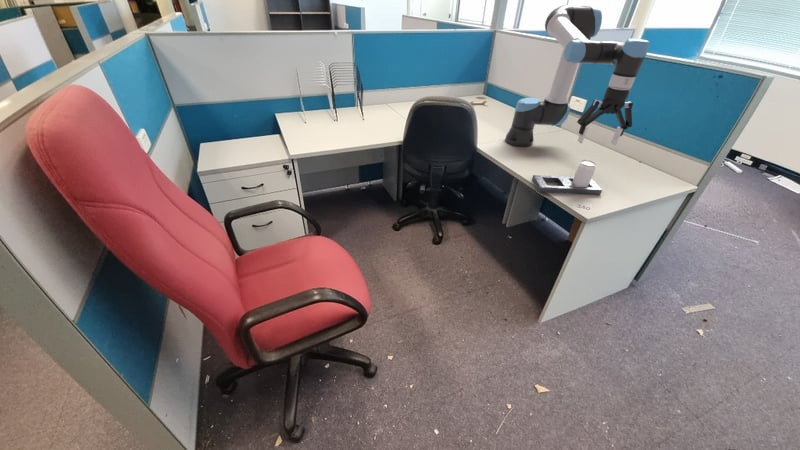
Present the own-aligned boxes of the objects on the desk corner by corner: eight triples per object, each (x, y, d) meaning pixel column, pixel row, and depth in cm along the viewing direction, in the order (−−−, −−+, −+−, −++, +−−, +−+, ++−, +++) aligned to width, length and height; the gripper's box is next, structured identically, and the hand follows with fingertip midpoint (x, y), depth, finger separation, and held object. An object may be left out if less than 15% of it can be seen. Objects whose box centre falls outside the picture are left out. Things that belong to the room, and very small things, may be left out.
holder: (531, 179, 150) (533, 175, 148) (588, 182, 149) (591, 177, 148) (539, 192, 141) (540, 187, 139) (600, 195, 141) (602, 189, 139)
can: (583, 193, 141) (594, 167, 134) (568, 187, 145) (578, 162, 138) (588, 187, 145) (599, 163, 138) (573, 182, 149) (583, 158, 142)
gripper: (589, 88, 118) (569, 145, 130) (659, 91, 117) (632, 147, 130) (580, 83, 124) (562, 137, 136) (647, 86, 123) (622, 140, 136)
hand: (596, 142), depth 133 cm, fingers open, 13 cm apart
